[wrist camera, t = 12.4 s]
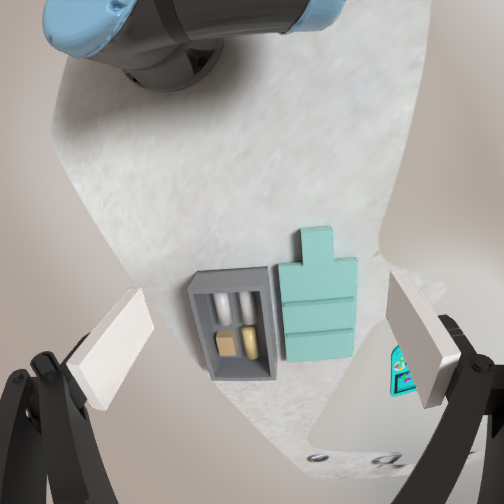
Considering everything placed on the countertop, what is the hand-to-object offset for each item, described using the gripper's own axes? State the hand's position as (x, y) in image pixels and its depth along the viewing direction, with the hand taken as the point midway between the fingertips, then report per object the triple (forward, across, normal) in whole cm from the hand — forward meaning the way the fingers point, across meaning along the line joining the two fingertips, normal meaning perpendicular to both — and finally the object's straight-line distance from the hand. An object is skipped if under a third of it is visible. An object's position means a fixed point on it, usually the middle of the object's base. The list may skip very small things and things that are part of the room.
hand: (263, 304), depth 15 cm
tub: (+29, -8, -20) cm, 36 cm away
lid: (+29, +5, -17) cm, 34 cm away
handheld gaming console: (+29, +24, -36) cm, 52 cm away
